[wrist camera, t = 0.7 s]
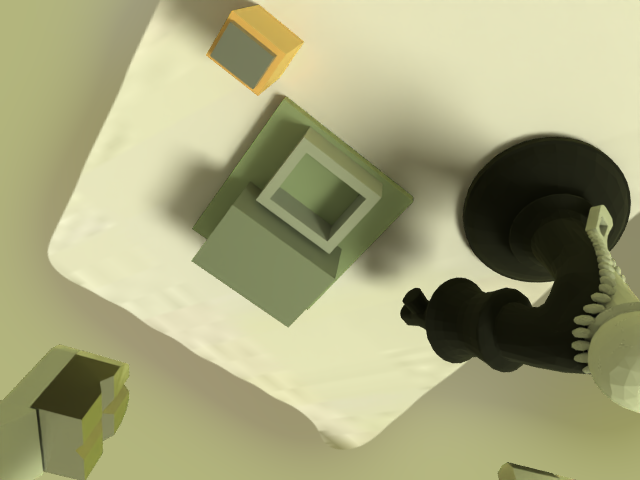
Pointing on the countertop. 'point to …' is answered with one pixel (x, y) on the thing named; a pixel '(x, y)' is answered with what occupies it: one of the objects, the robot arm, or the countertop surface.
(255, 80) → the yellow box green face
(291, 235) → the green plate with frame
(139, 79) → the countertop surface
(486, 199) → the sculpture
